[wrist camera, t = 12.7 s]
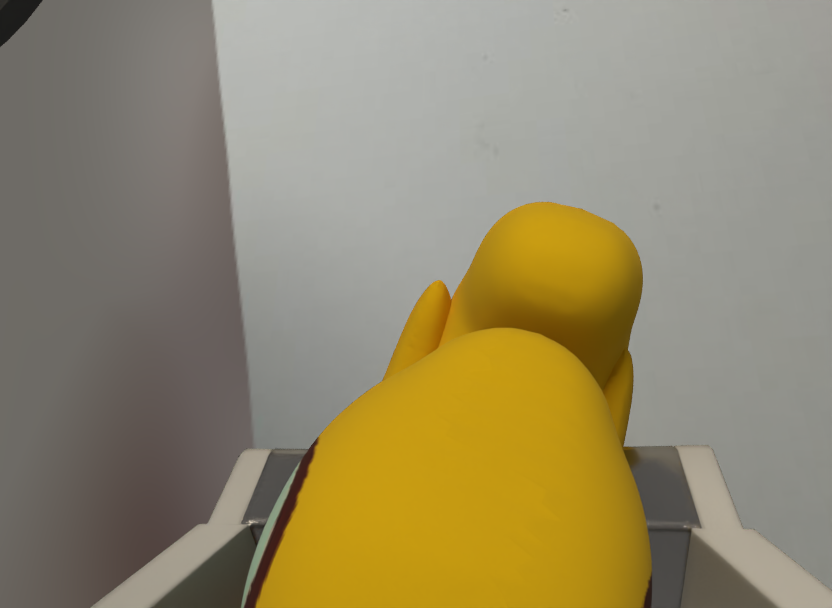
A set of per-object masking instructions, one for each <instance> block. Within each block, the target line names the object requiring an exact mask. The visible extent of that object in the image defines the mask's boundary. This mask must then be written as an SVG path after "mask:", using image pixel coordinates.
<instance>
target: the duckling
mask: <svg viewBox="0 0 832 608" xmlns="http://www.w3.org/2000/svg"><path fill="white" fill-rule="evenodd" d="M642 285H643V273H642V265H641V261H640V257H639V255H638V252H637V250H636V248H635V246H634V244H633V243H632V241H631V240H630V238H629V237H628V236H627V235H626V234H625V233H624V231H622V230H621V229H620V228H619V227H617V226H616V225H615V224H614V223H612V222H610V221H607V220H605V219H603V218H601V217H598V216H596V215H594V214H592V213H590V212H587V211H585V210H583V209H579V208H575V207H570V206H565V205H561V204H556V203H552V202H535V203H530V204H526V205H523V206H520V207H518V208H516V209H513V210H512V211H510V212H508V213H507V214H506V215H504V216H503V217H502V218H501V219H499V220H498V221H497V222H496V223H495V224H494V226H493V227H492V228H491V229H490V230H489V232H488V233H487V235H486V236H485V238H484V239H483V241H482V243H481V245H480V247H479V248H478V250H477V252H476V255H475V257H474V259H473V261H472V264H471V266H470V268H469V269H468V271H467V273H466V275H465V276H464V278H463V279H462V281H461V283H460V284H459V286H458V288H457V290H456V291H455V293H454V295H453V297H452V299H451V298H450V295H449V292H448V290H447V287H446V285H445V284H444V283H443V282H442V281H441V280H438V281H435V282H433V283H432V284H431V285H430V286H429V287H428V288H427V289H426V290H425V291H424V293H423V294H422V295H421V297H420V298H419V300H418V302H417V303H416V305H415V307H414V308H413V310H412V312H411V314H410V316H409V318H408V320H407V322H406V325H405V327H404V329H403V332H402V334H401V336H400V339H399V341H398V343H397V346H396V348H395V351H394V353H393V356H392V358H391V361H390V363H389V366H388V368H387V371H386V373H385V376H384V378H383V381H382V382H380V383H379V384H377V385H376V386H374V387H373V388H371V389H370V390H368V391H367V392H366V393H364V394H363V395H362V396H360V397H359V398H358V399H356V400H355V401H354V402H353V403H352V404H350V405H349V406H348V407H347V408H346V409H345V410H344V411H342V412H341V413H340V414H339V415H338V416H337V417H336V418H335V419H334V420H333V421H332V422H331V423H330V424H329V425H328V426H327V427H326V428H325V430H324V431H323V432H322V433H321V434H320V435H319V437H318V438H317V439H316V440H315V442H314V443H313V444H312V445H311V447H310V448H309V449H308V451H307V452H306V454H305V455H304V456H303V458H302V459H301V461H300V462H299V464H298V465H297V467H296V468H295V470H294V471H293V473H292V475H291V476H290V478H289V480H288V481H287V483H286V485H285V487H284V488H283V490H282V492H281V494H280V496H279V498H278V500H277V502H276V504H275V506H274V508H273V510H272V512H271V514H270V516H269V518H268V521H267V523H266V525H265V527H264V530H263V532H262V535H261V537H260V540H259V542H258V545H257V548H256V551H255V554H254V556H253V560H252V563H251V566H250V569H249V573H248V577H247V580H246V585H245V589H244V594H243V599H242V604H241V608H651V603H652V560H651V549H650V541H649V535H648V529H647V523H646V518H645V514H644V509H643V505H642V502H641V498H640V495H639V491H638V488H637V485H636V482H635V480H634V477H633V474H632V472H631V469H630V467H629V464H628V462H627V459H626V457H625V454H624V451H623V449H622V447H623V446H624V441H625V436H626V431H627V425H628V420H629V414H630V408H631V402H632V393H633V364H632V358H631V355H630V353H629V351H628V345H629V340H630V334H631V329H632V326H633V323H634V320H635V317H636V314H637V311H638V307H639V303H640V299H641V294H642Z"/></svg>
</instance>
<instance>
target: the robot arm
mask: <svg viewBox="0 0 832 608" xmlns="http://www.w3.org/2000/svg"><path fill="white" fill-rule="evenodd" d="M622 449H623V451H624V454H625V457H626V459H627V462H628V464H629V467H630V469H631V472H632V474H633V477H634V480H635V482H636V485H637V488H638V491H639V495H640V498H641V502H642V505H643V509H644V514H645V518H646V523H647V529H648V535H649V541H650V549H651V560H652V603H651V608H832V590H830V589H829V588H828V587H826V586H825V585H824V584H823V583H821V582H820V581H819V580H818V579H816V578H815V577H814V576H813V575H811V574H810V573H809V572H808V571H806V570H805V569H804V568H803V567H801V566H800V565H799V564H798V563H796V562H795V561H794V560H793V559H791V558H790V557H789V556H787V555H786V554H785V553H784V552H782V551H781V550H780V549H779V548H777V547H776V546H775V545H774V544H772V543H771V542H770V541H769V540H767V539H766V538H765V537H764V536H762V535H761V534H760V533H759V532H757V531H756V530H755V529H744V528H743V526H742V523H741V521H740V518H739V515H738V513H737V510H736V508H735V505H734V503H733V500H732V497H731V495H730V492H729V490H728V487H727V484H726V482H725V479H724V477H723V474H722V472H721V469H720V466H719V464H718V461H717V459H716V456H715V454H714V451H713V449H712V448H711V447H710V446H709V445H680V446H674V447H673V446H638V447H622ZM307 451H308V449H246V450H245V451H243V452H242V453H241V454H240V455H239V457H238V459H237V462H236V464H235V466H234V468H233V470H232V472H231V474H230V476H229V479H228V481H227V483H226V485H225V487H224V489H223V491H222V494H221V496H220V498H219V500H218V502H217V504H216V506H215V508H214V511H213V513H212V515H211V517H210V519H209V521H208V523H207V524H198V525H197V526H196V527H194V528H193V529H192V530H191V531H189V532H188V533H186V534H185V535H184V536H183V537H181V538H180V539H179V540H177V541H176V542H175V543H173V544H172V545H171V546H169V547H168V548H167V549H166V550H164V551H163V552H162V553H161V554H159V555H158V556H157V557H155V558H154V559H153V560H151V561H150V562H149V563H147V564H146V565H145V566H144V567H142V568H141V569H140V570H138V571H137V572H136V573H134V574H133V575H132V576H131V577H129V578H128V579H127V580H126V581H124V582H123V583H121V584H120V585H119V586H118V587H116V588H115V589H114V590H112V591H111V592H110V593H108V594H107V595H106V596H105V597H103V598H102V599H101V600H99V601H98V602H97V603H95V604H94V605H93V606H92V607H90V608H241V604H242V599H243V594H244V589H245V585H246V580H247V577H248V573H249V569H250V566H251V563H252V560H253V556H254V554H255V551H256V548H257V545H258V542H259V540H260V537H261V535H262V532H263V530H264V527H265V525H266V523H267V521H268V518H269V516H270V514H271V512H272V510H273V508H274V506H275V504H276V502H277V500H278V498H279V496H280V494H281V492H282V490H283V488H284V487H285V485H286V483H287V481H288V480H289V478H290V476H291V475H292V473H293V471H294V470H295V468H296V467H297V465H298V464H299V462H300V461H301V459H302V458H303V456H304V455H305V454H306V452H307Z"/></svg>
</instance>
